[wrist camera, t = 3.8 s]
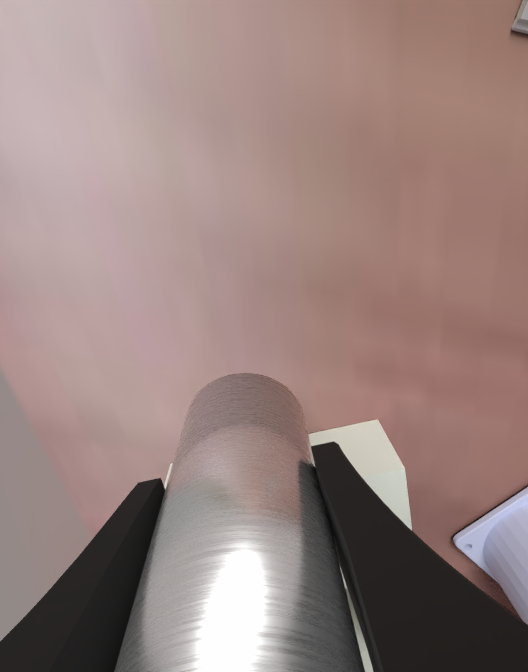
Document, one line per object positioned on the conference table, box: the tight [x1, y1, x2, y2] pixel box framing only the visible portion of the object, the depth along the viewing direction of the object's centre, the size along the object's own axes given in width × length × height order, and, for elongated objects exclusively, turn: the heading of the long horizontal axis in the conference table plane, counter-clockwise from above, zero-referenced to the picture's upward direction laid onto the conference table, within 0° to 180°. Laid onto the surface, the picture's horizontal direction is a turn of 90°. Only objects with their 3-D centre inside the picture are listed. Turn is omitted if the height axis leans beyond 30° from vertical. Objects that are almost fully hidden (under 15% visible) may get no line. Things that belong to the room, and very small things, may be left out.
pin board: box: [164, 419, 412, 672], centre depth 23 cm, size 20×12×4 cm, turn 13°
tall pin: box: [114, 373, 365, 672], centre depth 9 cm, size 4×4×8 cm
